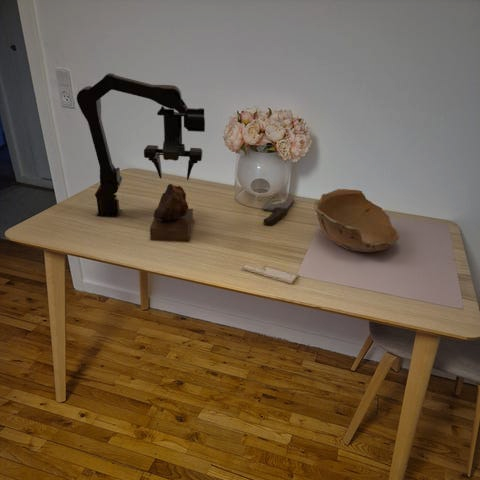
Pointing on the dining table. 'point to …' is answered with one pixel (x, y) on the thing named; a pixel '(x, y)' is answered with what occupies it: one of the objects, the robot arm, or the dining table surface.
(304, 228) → the dining table surface
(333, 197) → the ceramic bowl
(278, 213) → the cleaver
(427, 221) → the dining table surface
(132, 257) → the dining table surface
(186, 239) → the dark walnut box
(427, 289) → the dining table surface
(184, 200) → the decorative rock
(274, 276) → the white plastic strip tool
